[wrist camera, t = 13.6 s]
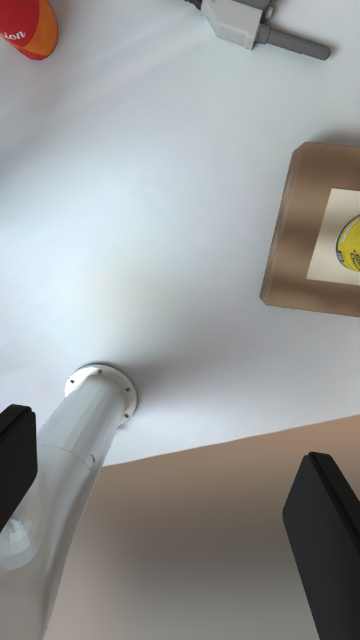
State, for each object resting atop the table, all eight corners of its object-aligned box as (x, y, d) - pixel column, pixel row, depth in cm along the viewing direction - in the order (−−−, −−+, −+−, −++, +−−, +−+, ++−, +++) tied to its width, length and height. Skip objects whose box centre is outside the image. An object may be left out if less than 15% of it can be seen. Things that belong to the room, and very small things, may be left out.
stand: (386, 313, 36) (409, 324, 32) (259, 297, 37) (266, 305, 33) (447, 168, 30) (484, 160, 26) (292, 152, 30) (306, 141, 27)
